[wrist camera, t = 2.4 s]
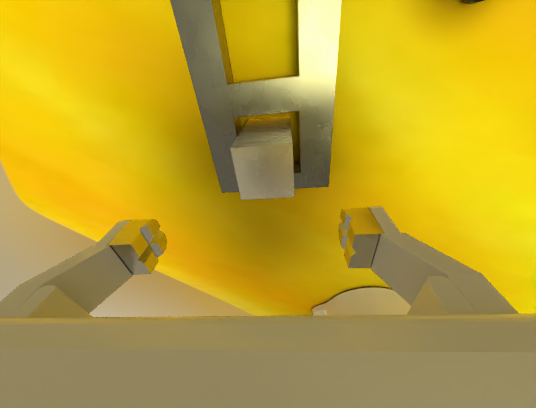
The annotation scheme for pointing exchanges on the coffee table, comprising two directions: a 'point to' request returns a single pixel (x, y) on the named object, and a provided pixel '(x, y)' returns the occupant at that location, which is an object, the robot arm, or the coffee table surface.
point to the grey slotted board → (264, 86)
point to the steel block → (264, 159)
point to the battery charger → (472, 1)
